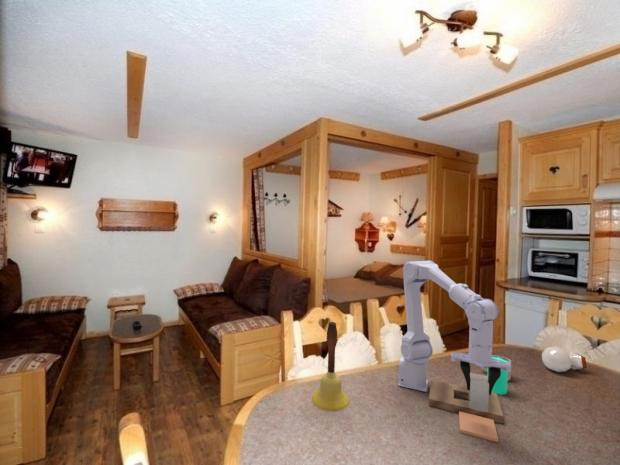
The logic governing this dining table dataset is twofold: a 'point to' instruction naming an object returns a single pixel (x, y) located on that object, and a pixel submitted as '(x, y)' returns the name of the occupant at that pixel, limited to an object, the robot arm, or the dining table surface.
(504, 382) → the candle
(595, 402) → the dining table surface
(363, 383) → the dining table surface
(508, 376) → the mug
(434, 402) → the wooden board with hole
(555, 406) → the dining table surface
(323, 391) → the handbell
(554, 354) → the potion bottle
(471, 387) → the steel plug
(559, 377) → the dining table surface
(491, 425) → the terracotta tile
